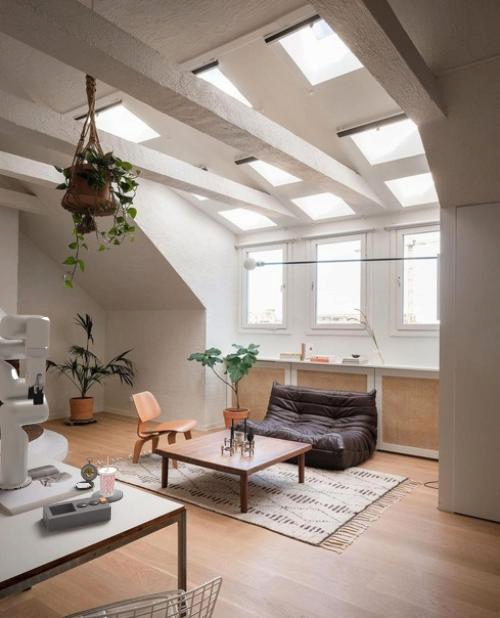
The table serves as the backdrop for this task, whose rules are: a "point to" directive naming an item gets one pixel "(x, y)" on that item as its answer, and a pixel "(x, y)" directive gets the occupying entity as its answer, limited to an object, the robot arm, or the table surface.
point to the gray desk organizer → (76, 513)
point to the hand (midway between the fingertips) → (35, 401)
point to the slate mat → (115, 497)
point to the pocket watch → (89, 473)
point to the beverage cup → (107, 480)
